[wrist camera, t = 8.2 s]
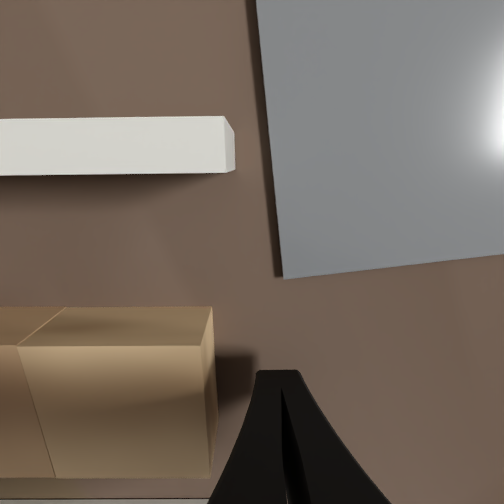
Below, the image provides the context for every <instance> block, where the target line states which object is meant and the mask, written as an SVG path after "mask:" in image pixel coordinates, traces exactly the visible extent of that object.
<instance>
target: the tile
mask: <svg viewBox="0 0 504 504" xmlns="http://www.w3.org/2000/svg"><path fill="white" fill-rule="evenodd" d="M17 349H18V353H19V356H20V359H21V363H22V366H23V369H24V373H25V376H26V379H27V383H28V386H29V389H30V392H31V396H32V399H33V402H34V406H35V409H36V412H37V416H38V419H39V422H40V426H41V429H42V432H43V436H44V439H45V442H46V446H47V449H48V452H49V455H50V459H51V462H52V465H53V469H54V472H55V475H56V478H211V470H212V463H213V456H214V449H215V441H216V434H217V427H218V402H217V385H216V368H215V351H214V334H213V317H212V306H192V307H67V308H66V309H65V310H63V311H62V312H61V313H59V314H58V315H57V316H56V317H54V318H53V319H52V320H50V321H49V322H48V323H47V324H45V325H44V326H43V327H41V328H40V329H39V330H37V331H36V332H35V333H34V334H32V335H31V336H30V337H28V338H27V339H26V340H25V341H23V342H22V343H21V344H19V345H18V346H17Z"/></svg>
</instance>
